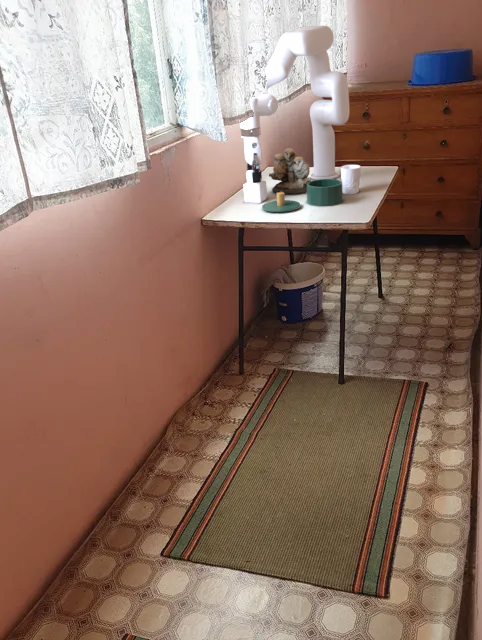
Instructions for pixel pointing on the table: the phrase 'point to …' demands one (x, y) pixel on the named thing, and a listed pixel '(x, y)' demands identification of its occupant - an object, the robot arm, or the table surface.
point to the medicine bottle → (254, 189)
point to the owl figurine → (290, 173)
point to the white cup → (350, 179)
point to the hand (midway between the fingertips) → (254, 180)
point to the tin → (324, 192)
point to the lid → (281, 204)
